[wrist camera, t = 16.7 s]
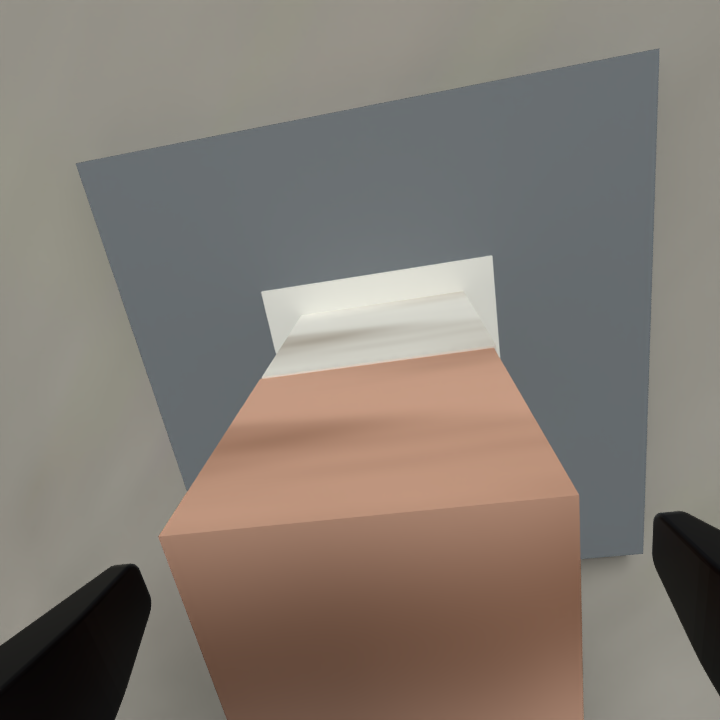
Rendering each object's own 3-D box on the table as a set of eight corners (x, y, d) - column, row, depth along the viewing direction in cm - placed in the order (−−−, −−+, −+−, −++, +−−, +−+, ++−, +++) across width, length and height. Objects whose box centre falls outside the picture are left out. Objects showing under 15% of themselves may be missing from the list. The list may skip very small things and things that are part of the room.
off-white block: (477, 436, 17) (511, 540, 12) (331, 453, 17) (308, 559, 12) (463, 291, 15) (496, 344, 10) (301, 315, 15) (261, 377, 11)
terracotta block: (509, 542, 12) (584, 781, 7) (306, 561, 12) (254, 793, 8) (493, 347, 10) (578, 494, 6) (260, 378, 11) (158, 537, 6)
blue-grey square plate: (630, 534, 19) (644, 555, 18) (228, 570, 21) (219, 591, 20) (641, 57, 13) (661, 47, 12) (95, 164, 15) (73, 163, 14)
